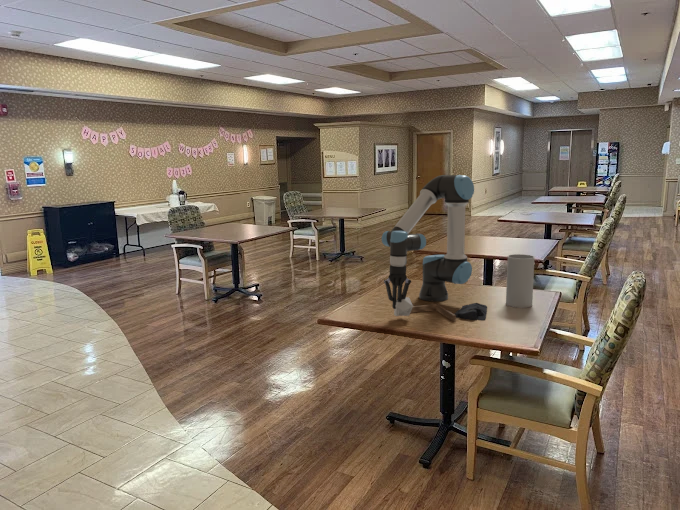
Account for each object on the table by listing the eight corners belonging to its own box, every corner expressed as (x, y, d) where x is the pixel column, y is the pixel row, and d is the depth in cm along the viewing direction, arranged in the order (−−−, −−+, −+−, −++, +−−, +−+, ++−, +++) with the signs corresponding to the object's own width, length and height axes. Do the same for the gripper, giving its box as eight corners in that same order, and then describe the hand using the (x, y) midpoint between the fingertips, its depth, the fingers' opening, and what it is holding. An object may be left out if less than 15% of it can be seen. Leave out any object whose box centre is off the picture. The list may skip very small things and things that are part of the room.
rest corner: (437, 309, 255) (437, 304, 255) (455, 321, 236) (455, 315, 236) (398, 313, 251) (398, 307, 250) (414, 325, 232) (414, 319, 231)
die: (406, 320, 235) (418, 301, 236) (389, 309, 236) (401, 291, 237) (405, 321, 243) (416, 303, 244) (389, 311, 244) (400, 293, 246)
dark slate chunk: (492, 310, 255) (492, 301, 254) (484, 323, 235) (484, 312, 234) (460, 307, 261) (460, 298, 260) (450, 319, 241) (450, 309, 241)
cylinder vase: (513, 309, 254) (515, 259, 249) (501, 303, 266) (503, 254, 261) (537, 308, 255) (539, 258, 251) (524, 301, 268) (526, 253, 263)
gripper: (408, 263, 241) (406, 312, 244) (382, 263, 238) (380, 313, 242) (414, 266, 234) (412, 316, 237) (387, 266, 231) (385, 318, 234)
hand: (396, 315), depth 239 cm, fingers closed
